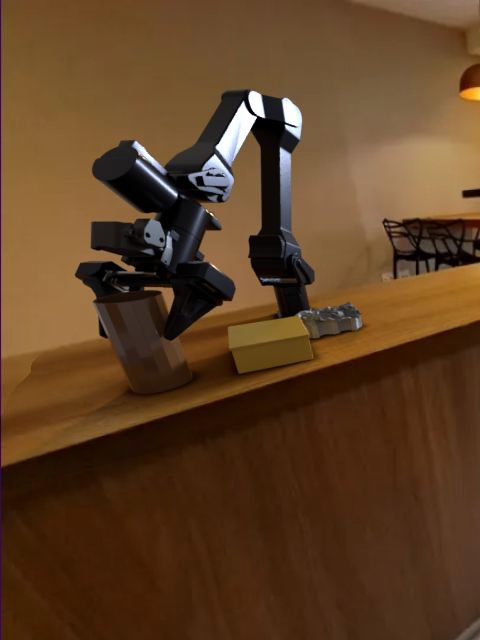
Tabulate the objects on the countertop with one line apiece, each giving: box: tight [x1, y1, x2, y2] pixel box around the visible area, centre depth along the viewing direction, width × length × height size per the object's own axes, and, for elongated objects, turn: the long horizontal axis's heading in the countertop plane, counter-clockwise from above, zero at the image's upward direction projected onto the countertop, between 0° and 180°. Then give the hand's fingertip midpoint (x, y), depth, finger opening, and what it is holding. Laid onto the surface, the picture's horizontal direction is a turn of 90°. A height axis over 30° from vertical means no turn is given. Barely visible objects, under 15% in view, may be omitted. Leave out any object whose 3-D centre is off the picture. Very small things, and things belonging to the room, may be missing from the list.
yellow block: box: [227, 316, 314, 375], centre depth 68 cm, size 11×10×4 cm
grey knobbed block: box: [295, 301, 363, 340], centre depth 79 cm, size 11×8×4 cm
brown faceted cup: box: [91, 289, 194, 395], centre depth 57 cm, size 7×7×12 cm
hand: (135, 338), depth 56 cm, fingers open, 9 cm apart
